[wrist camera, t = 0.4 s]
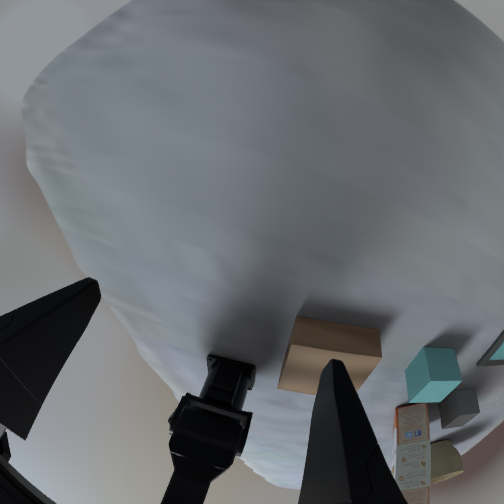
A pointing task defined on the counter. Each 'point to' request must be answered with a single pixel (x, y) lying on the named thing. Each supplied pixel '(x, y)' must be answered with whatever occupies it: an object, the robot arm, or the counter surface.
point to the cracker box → (412, 453)
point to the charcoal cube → (459, 408)
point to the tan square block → (327, 353)
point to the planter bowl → (444, 461)
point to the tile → (494, 353)
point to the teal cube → (432, 375)
